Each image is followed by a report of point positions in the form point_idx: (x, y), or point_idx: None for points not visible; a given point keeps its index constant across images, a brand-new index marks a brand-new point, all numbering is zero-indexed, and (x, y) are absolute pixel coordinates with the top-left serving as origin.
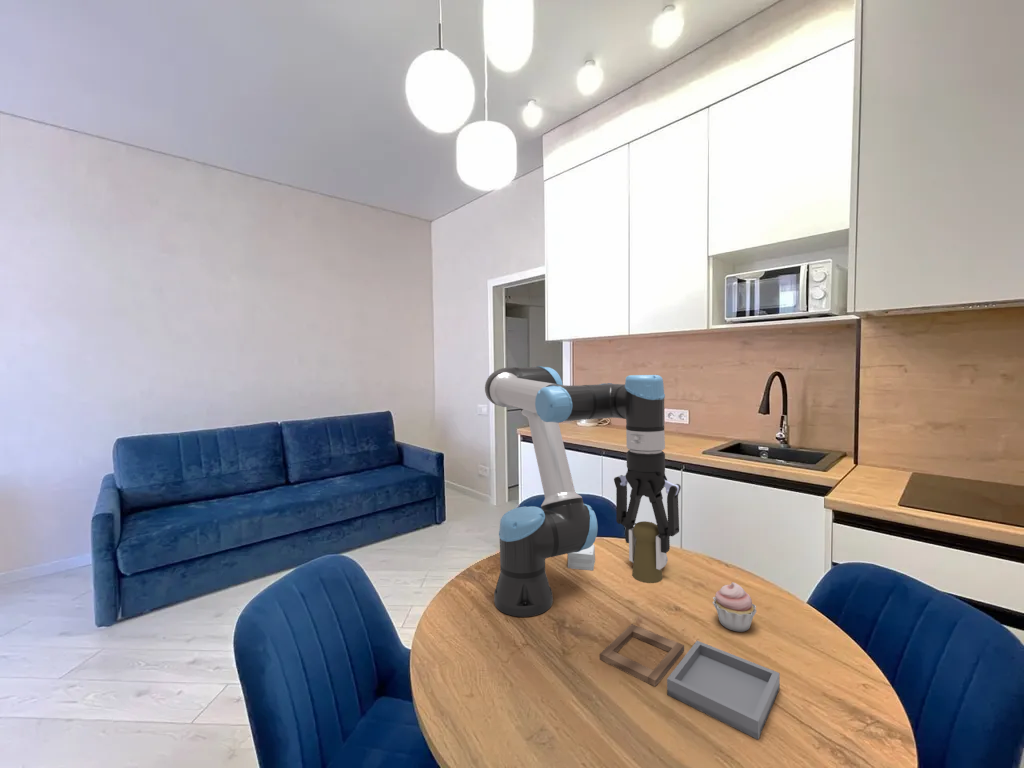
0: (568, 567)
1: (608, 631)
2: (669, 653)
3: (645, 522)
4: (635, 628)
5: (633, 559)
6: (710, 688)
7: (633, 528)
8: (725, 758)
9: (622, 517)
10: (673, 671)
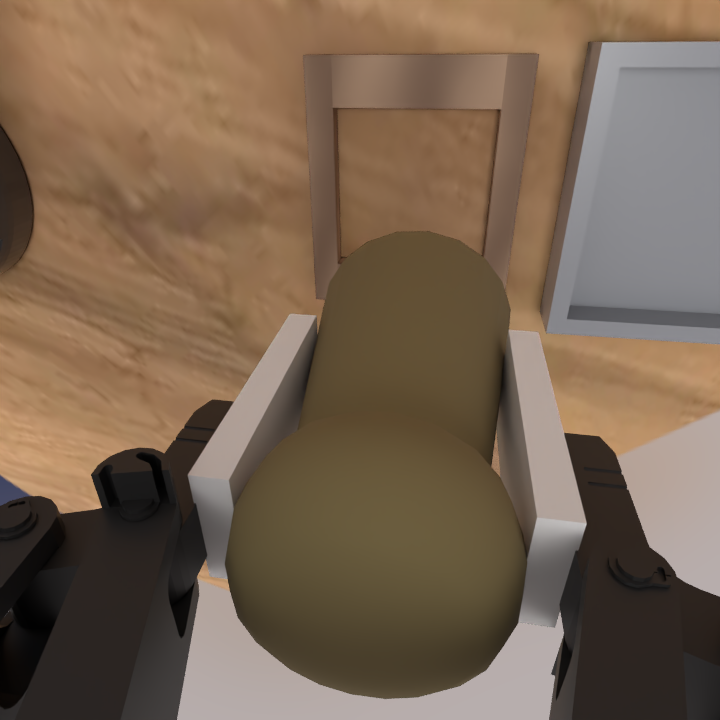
0: None
1: (253, 137)
2: (501, 152)
3: (335, 633)
4: (330, 78)
5: None
6: (665, 239)
7: (218, 532)
8: (706, 414)
9: (36, 607)
10: (556, 293)
